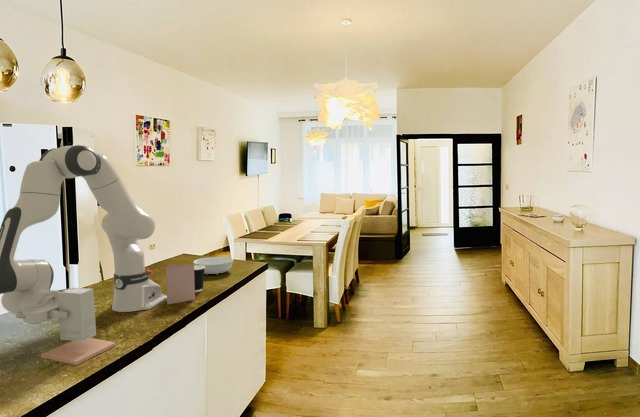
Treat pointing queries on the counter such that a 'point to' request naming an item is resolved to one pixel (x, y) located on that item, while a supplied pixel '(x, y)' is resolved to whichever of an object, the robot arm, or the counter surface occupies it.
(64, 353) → the terracotta mat
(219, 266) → the serving bowl
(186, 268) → the greeting card
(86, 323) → the skincare box
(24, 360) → the counter surface
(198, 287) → the dixie cup
